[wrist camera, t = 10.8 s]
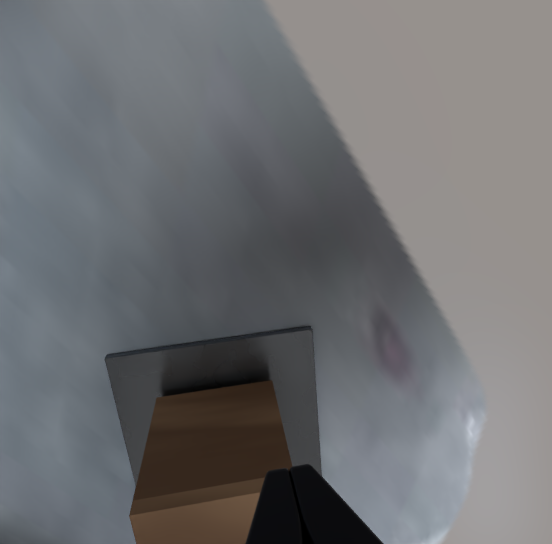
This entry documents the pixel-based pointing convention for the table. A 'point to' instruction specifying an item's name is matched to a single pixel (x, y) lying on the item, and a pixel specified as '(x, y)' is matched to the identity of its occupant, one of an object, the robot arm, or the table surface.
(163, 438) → the cardboard carton
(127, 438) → the gray square base stand
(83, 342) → the table surface
